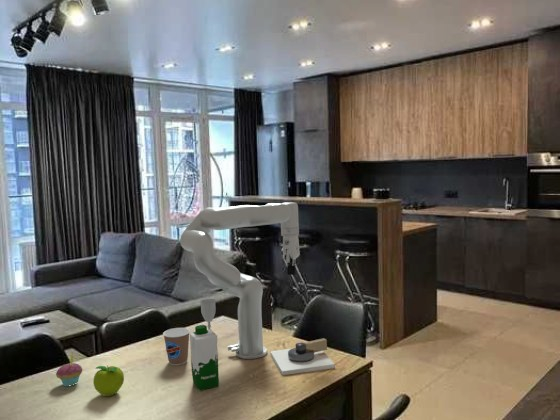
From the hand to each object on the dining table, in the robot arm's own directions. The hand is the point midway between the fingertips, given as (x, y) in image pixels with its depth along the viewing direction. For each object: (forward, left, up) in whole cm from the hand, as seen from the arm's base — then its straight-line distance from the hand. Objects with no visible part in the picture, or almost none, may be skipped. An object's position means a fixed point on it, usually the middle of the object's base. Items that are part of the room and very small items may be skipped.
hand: (291, 274), depth 201 cm
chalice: (-35, +12, -29) cm, 47 cm away
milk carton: (-40, -31, -29) cm, 58 cm away
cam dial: (0, -21, -28) cm, 35 cm away
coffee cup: (-49, -7, -29) cm, 57 cm away
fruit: (-72, -28, -29) cm, 83 cm away
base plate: (-3, -22, -29) cm, 37 cm away
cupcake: (-87, -15, -29) cm, 93 cm away
